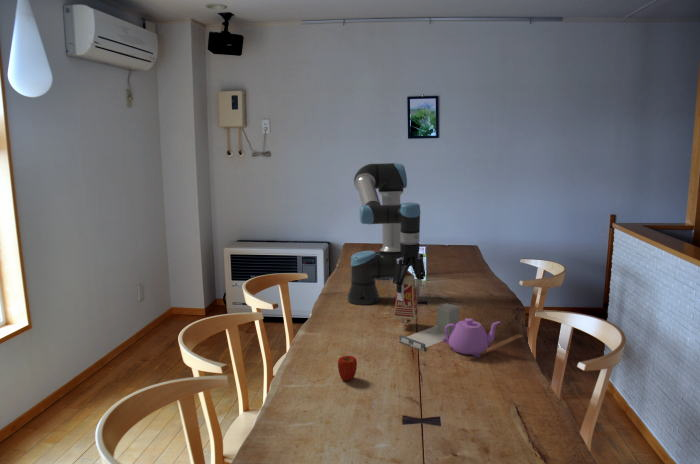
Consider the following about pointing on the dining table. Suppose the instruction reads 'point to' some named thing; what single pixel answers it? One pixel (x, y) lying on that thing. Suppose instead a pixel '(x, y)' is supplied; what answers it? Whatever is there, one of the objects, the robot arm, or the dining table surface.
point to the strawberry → (347, 367)
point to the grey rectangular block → (447, 317)
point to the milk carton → (407, 299)
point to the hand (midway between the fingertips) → (409, 297)
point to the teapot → (469, 337)
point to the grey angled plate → (423, 338)
